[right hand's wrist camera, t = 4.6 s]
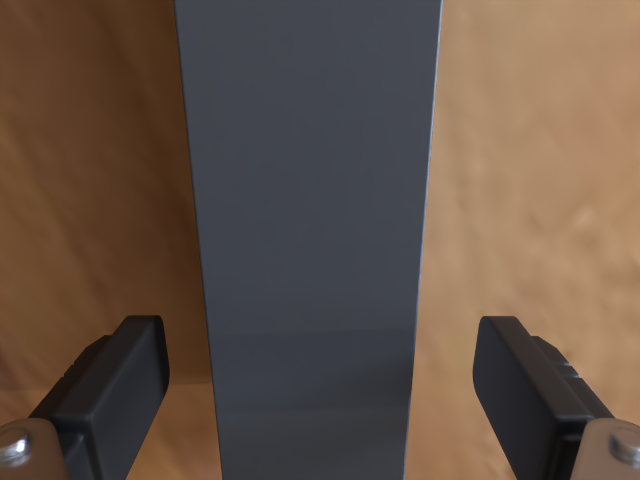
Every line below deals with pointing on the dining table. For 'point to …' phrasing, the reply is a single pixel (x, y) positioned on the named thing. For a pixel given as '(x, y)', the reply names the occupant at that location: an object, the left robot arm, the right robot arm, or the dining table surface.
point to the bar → (310, 224)
